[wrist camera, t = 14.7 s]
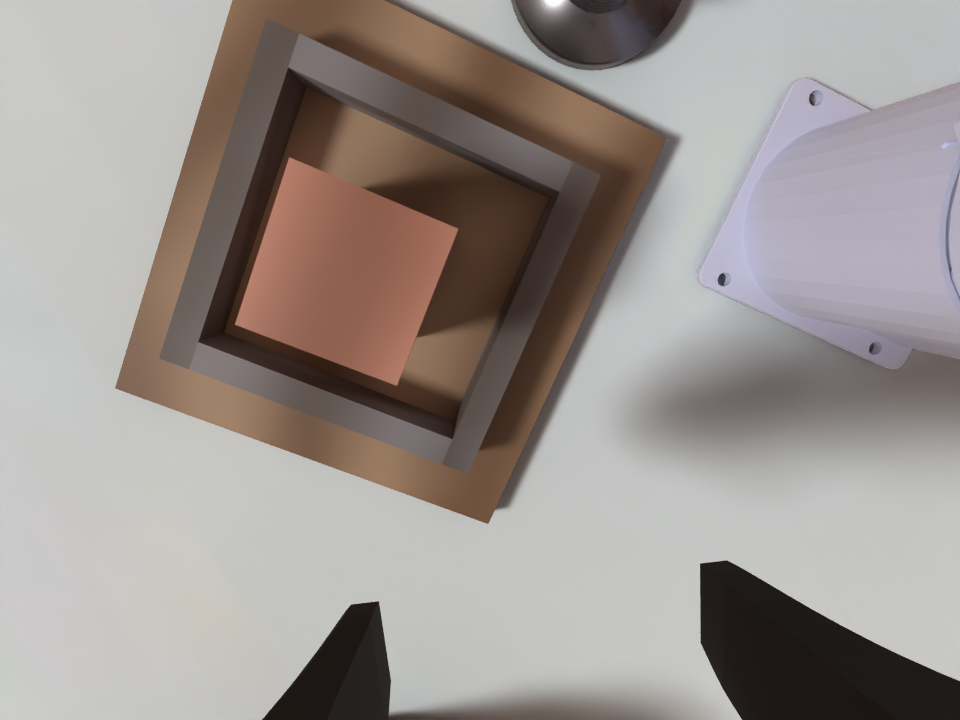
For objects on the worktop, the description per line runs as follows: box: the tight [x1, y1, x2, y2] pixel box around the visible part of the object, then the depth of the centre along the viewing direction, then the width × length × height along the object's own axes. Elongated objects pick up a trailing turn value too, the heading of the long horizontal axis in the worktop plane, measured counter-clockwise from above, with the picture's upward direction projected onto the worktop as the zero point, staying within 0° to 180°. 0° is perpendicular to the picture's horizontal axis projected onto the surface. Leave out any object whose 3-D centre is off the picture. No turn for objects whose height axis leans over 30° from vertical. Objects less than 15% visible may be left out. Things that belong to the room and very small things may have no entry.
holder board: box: [115, 0, 666, 524], centre depth 19 cm, size 15×16×3 cm
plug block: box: [235, 157, 458, 386], centre depth 16 cm, size 4×4×7 cm
